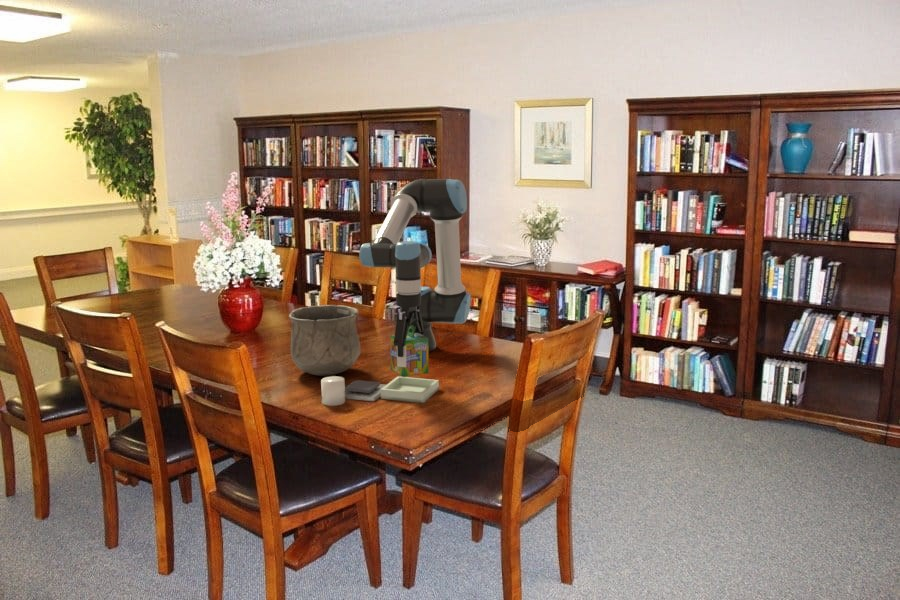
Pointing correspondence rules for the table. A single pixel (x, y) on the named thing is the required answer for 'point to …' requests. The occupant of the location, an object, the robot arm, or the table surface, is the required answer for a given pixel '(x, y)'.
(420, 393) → the trough tray
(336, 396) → the white cylinder
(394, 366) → the chalk box
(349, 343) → the pot
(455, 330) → the table surface
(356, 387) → the checker plate
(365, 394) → the checker base
